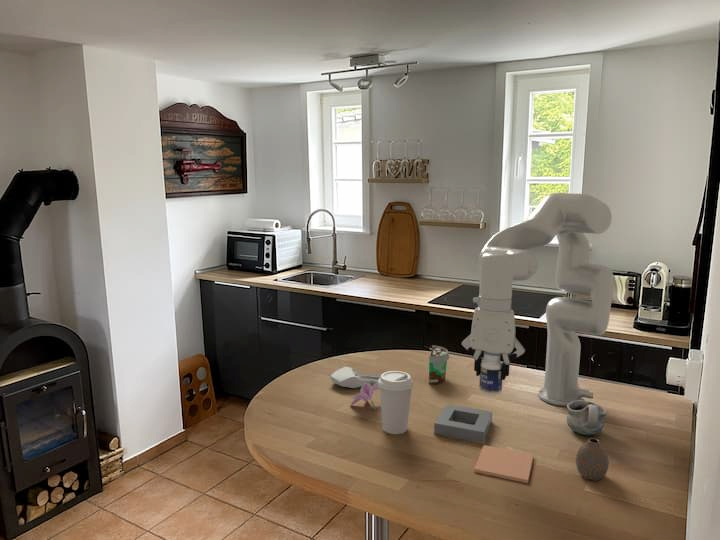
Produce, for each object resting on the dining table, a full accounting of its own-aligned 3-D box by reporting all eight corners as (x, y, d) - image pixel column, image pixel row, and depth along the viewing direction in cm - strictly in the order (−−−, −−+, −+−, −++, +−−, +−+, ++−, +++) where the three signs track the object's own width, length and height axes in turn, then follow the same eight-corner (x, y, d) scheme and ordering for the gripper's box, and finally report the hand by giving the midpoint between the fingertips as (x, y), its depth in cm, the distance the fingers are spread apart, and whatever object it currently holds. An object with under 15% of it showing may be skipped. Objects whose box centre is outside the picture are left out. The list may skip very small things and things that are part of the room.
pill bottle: (475, 392, 133) (477, 353, 131) (483, 385, 137) (485, 348, 136) (497, 397, 130) (499, 358, 128) (504, 389, 134) (506, 351, 133)
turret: (391, 393, 176) (393, 380, 176) (331, 389, 172) (334, 375, 171) (383, 382, 186) (385, 369, 185) (326, 378, 181) (328, 364, 181)
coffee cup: (388, 440, 141) (389, 385, 138) (370, 425, 149) (371, 373, 147) (419, 432, 145) (420, 379, 143) (400, 418, 154) (401, 367, 151)
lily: (387, 403, 166) (375, 376, 167) (394, 404, 155) (382, 375, 157) (354, 418, 163) (342, 390, 164) (359, 420, 153) (347, 390, 154)
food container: (447, 387, 175) (448, 358, 174) (428, 386, 177) (429, 356, 175) (449, 373, 187) (450, 346, 186) (431, 372, 189) (432, 344, 187)
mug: (595, 423, 151) (598, 389, 149) (616, 446, 138) (619, 409, 137) (560, 423, 151) (562, 389, 149) (578, 446, 138) (581, 409, 137)
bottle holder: (491, 421, 152) (492, 411, 151) (483, 443, 140) (483, 432, 139) (446, 413, 157) (446, 403, 156) (434, 433, 145) (434, 423, 144)
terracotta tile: (533, 457, 133) (533, 454, 133) (527, 483, 122) (528, 480, 122) (483, 448, 137) (483, 445, 137) (474, 471, 126) (474, 468, 126)
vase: (569, 468, 128) (572, 433, 127) (597, 467, 129) (600, 432, 127) (583, 485, 121) (586, 448, 120) (613, 483, 122) (616, 447, 120)
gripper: (455, 303, 130) (452, 375, 133) (530, 311, 123) (525, 387, 126) (463, 297, 137) (460, 366, 140) (534, 304, 130) (529, 376, 133)
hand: (491, 375), depth 133 cm, fingers closed on pill bottle, 5 cm apart
